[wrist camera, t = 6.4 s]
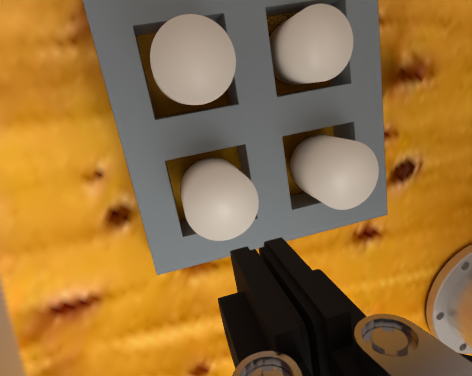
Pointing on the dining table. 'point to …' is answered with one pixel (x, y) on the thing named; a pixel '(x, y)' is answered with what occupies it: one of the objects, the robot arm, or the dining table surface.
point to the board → (237, 120)
